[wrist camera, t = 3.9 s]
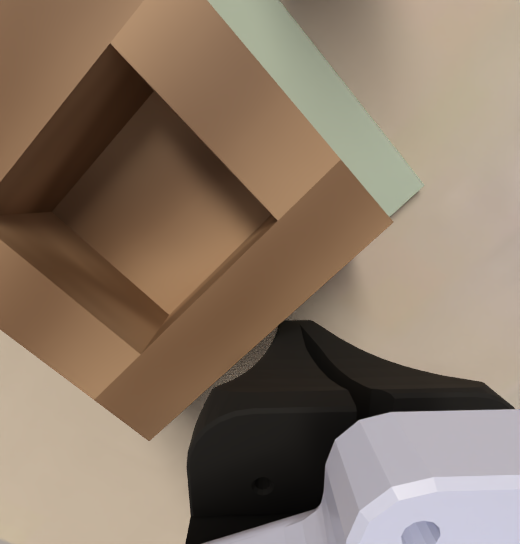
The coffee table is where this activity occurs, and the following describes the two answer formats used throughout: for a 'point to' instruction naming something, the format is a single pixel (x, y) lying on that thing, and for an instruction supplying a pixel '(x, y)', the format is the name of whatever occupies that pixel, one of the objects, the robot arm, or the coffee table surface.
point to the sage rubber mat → (321, 98)
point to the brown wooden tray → (157, 199)
